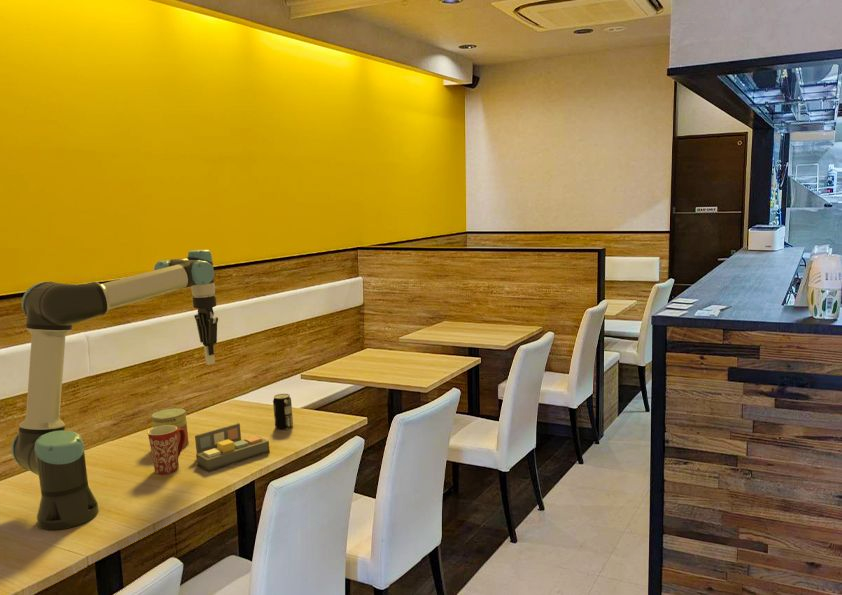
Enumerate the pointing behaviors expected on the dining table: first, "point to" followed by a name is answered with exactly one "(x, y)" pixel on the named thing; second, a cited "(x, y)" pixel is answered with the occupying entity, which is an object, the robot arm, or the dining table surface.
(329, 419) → the dining table surface
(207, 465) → the frame
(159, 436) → the mug
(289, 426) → the beverage can
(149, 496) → the dining table surface
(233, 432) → the placard
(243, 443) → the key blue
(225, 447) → the key mustard
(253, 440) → the key terracotta
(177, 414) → the canned food
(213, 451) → the key ivory
